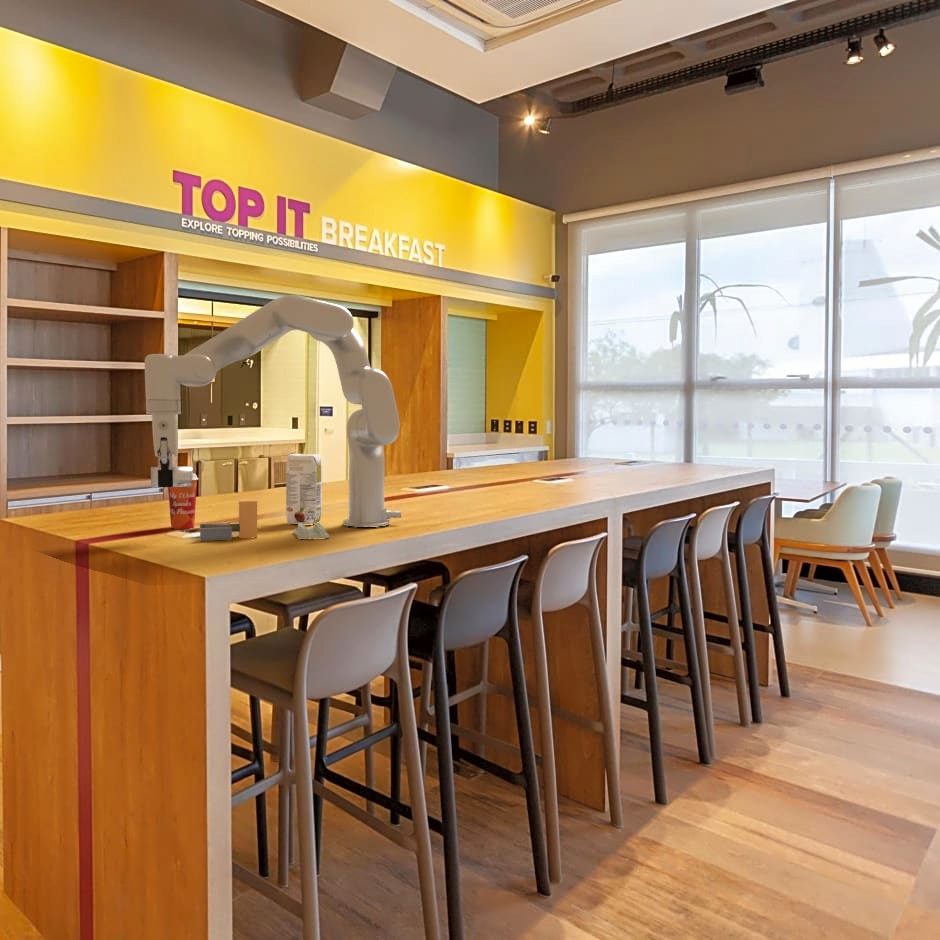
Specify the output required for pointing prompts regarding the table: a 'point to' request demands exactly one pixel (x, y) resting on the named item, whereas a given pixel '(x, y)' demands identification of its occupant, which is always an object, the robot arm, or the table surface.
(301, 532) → the cradle
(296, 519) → the juice carton
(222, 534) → the channel block
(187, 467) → the axle
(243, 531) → the grey base tan upright
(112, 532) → the table surface
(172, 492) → the paper cup
